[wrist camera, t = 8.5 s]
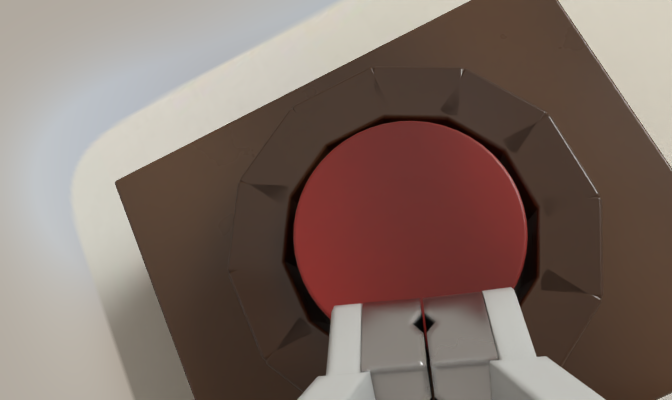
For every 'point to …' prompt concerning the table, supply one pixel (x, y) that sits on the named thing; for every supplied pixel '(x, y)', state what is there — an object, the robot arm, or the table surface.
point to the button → (408, 218)
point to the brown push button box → (454, 112)
